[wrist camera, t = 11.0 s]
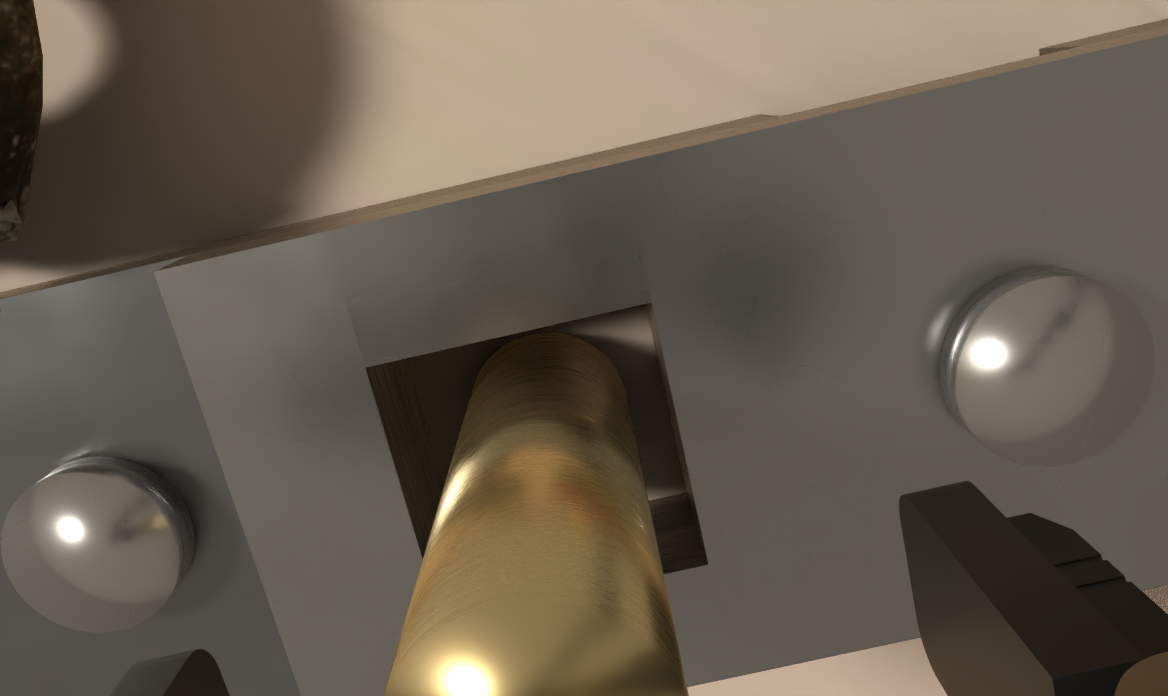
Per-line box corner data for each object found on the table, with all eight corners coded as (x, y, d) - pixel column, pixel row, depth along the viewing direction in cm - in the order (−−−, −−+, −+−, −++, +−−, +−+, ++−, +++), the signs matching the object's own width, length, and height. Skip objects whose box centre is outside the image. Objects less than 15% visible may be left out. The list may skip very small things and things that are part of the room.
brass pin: (608, 316, 19) (659, 568, 9) (642, 462, 19) (721, 840, 10) (452, 351, 19) (336, 640, 9) (492, 496, 19) (423, 903, 10)
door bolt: (1267, -5, 17) (1456, -28, 14) (1289, 465, 20) (1456, 553, 16) (-249, 351, 18) (-451, 418, 15) (-60, 757, 21) (-194, 903, 17)
